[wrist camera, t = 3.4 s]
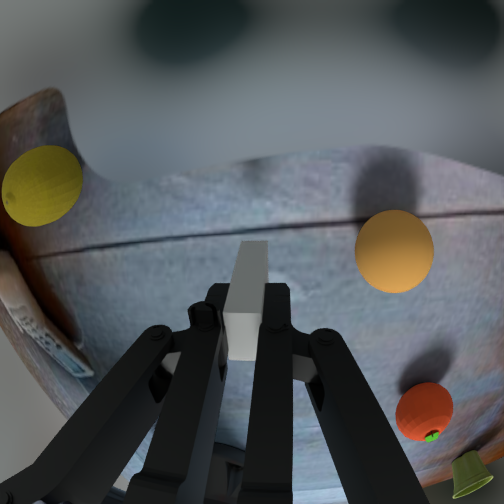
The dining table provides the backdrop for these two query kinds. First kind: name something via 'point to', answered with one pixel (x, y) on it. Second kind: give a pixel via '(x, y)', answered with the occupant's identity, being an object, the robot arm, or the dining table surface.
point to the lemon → (42, 185)
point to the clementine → (424, 411)
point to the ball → (394, 251)
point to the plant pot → (469, 474)
